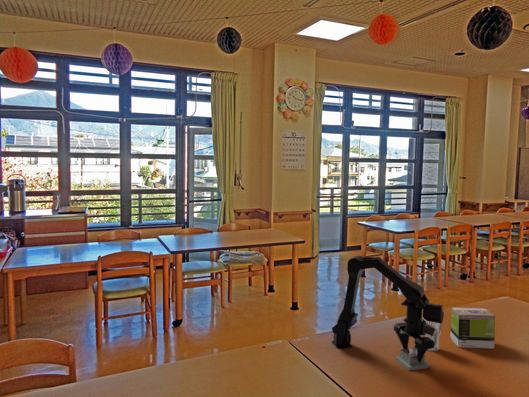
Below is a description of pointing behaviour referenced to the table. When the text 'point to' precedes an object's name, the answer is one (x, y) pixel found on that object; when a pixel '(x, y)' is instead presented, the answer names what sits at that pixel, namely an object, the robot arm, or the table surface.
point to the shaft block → (412, 367)
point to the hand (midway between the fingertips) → (412, 356)
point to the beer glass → (435, 335)
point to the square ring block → (410, 357)
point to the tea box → (472, 327)
